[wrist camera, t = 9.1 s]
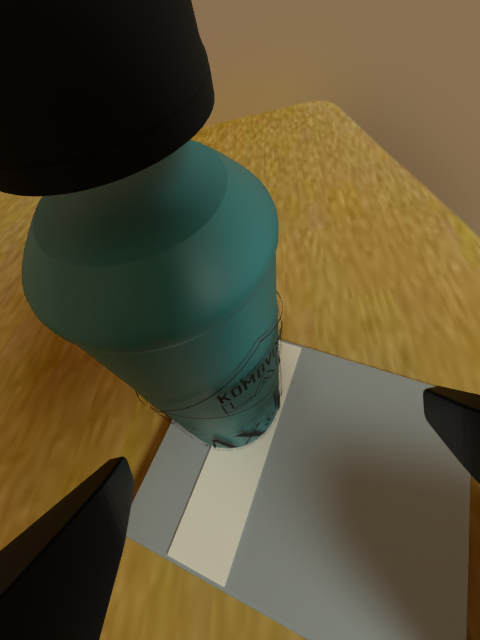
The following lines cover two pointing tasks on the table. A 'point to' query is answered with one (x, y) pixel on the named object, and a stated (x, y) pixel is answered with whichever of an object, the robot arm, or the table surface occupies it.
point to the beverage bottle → (140, 210)
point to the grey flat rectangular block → (322, 509)
